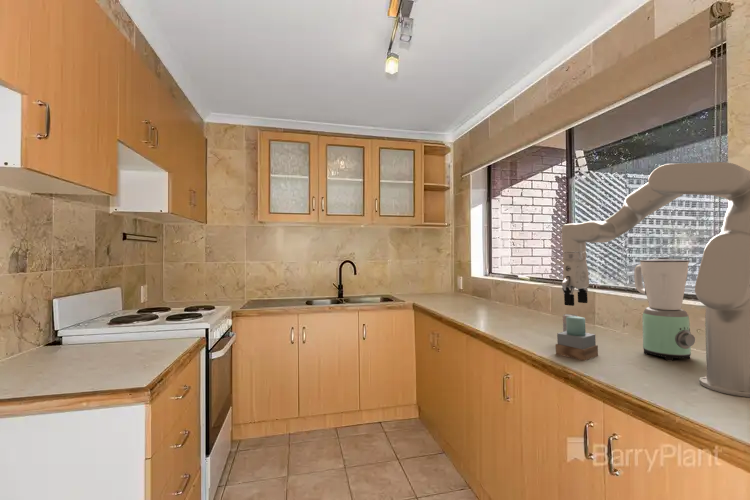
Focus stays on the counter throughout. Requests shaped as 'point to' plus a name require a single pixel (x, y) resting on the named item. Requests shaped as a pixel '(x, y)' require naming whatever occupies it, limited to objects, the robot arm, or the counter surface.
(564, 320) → the energy drink
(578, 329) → the teal cylinder
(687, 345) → the mint green blender
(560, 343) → the tower top block
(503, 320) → the counter surface
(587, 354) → the tower base block
